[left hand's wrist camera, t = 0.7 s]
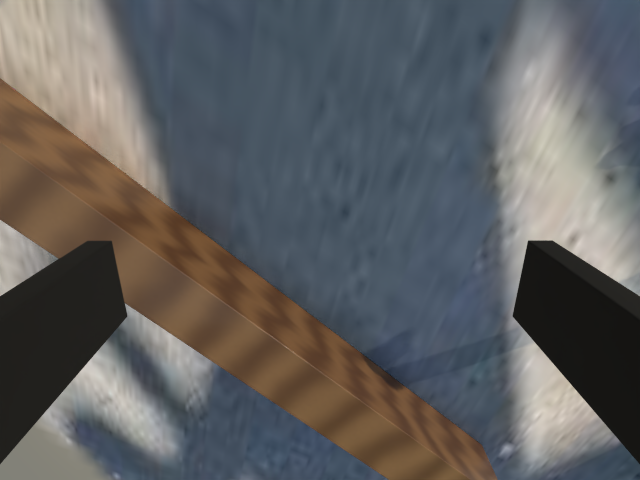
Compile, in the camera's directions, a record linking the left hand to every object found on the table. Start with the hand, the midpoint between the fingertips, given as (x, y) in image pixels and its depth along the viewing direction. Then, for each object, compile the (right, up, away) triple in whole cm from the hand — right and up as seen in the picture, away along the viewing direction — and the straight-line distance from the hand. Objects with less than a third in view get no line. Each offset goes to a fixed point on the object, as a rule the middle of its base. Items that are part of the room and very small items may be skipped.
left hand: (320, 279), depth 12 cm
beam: (-10, -3, +28) cm, 30 cm away
